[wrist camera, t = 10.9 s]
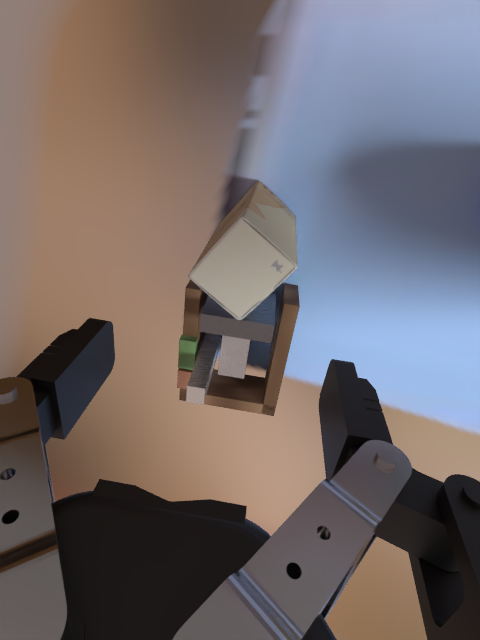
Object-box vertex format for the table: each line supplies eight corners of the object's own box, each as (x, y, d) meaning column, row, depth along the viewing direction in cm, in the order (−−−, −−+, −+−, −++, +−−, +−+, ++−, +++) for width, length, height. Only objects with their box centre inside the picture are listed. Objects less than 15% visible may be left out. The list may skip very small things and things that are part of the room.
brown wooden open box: (297, 285, 32) (299, 310, 28) (274, 388, 38) (273, 422, 34) (195, 269, 33) (182, 291, 29) (187, 374, 39) (176, 405, 34)
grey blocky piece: (276, 291, 32) (273, 343, 25) (263, 358, 36) (258, 420, 29) (212, 281, 33) (190, 330, 25) (205, 348, 36) (185, 408, 29)
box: (258, 178, 28) (245, 210, 19) (297, 216, 29) (303, 265, 20) (215, 226, 31) (184, 278, 21) (253, 261, 32) (239, 324, 22)
